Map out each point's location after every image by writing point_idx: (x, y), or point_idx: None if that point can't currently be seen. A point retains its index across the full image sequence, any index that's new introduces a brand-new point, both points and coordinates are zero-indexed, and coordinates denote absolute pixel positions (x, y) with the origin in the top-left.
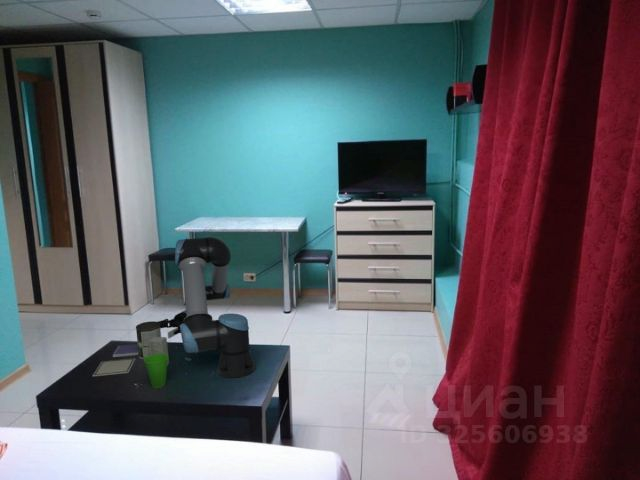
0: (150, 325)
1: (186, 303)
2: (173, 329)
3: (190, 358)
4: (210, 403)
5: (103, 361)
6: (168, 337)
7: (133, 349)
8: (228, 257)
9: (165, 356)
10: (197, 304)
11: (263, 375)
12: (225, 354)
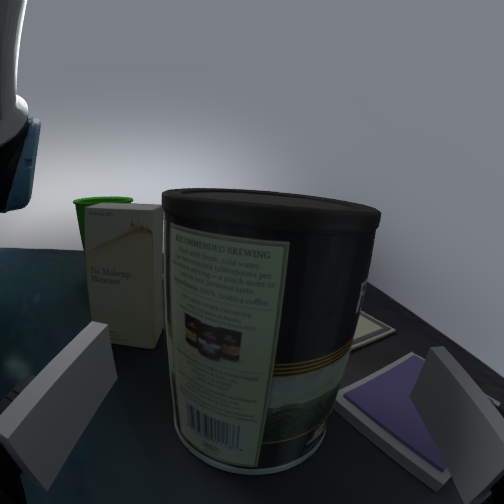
0: (251, 198)
1: (18, 54)
2: (46, 387)
3: (8, 369)
4: (17, 248)
5: (388, 329)
6: (109, 368)
7: (393, 405)
8: None
9: (81, 206)
10: None
11: None
12: None
